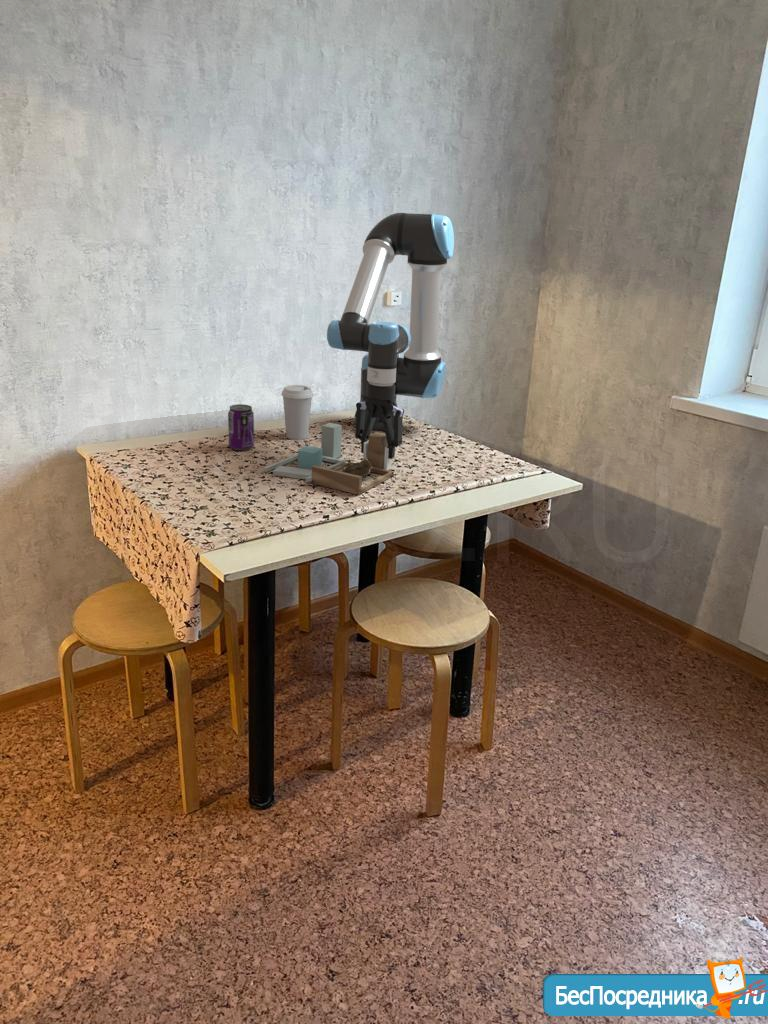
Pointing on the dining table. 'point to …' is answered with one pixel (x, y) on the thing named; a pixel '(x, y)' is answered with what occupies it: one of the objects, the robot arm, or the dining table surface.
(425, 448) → the dining table surface
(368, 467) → the rock sample
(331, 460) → the grey open frame
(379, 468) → the brown open frame
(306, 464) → the teal block
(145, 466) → the dining table surface
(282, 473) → the grey rectangular block
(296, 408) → the coffee cup
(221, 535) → the dining table surface
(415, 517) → the dining table surface
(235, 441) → the beverage can
